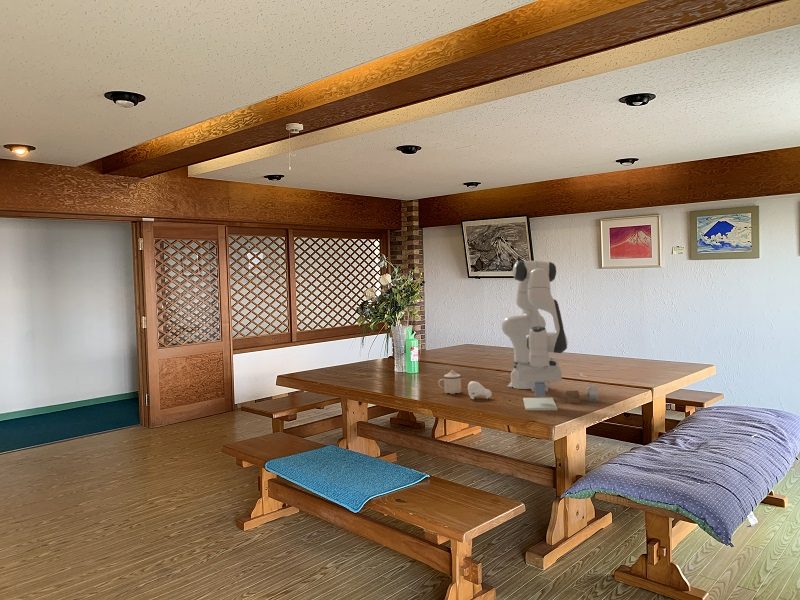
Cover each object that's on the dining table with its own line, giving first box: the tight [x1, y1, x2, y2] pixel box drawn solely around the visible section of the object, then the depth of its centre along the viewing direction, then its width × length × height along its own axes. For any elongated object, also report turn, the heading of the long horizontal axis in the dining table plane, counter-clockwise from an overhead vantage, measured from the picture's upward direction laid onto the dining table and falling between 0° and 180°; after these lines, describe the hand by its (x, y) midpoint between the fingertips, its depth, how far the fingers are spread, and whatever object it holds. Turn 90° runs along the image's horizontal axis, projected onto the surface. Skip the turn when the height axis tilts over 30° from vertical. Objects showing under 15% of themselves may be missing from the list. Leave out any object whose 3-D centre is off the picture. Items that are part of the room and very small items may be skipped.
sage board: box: [522, 397, 558, 411], centre depth 279 cm, size 22×14×1 cm, turn 171°
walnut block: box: [566, 390, 580, 404], centre depth 283 cm, size 5×5×5 cm
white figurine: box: [467, 380, 493, 400], centre depth 298 cm, size 6×8×12 cm
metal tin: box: [586, 385, 599, 403], centre depth 282 cm, size 5×5×7 cm
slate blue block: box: [534, 382, 546, 398], centre depth 279 cm, size 4×4×6 cm
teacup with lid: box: [437, 370, 462, 395], centre depth 315 cm, size 12×9×12 cm
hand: (539, 390), depth 279 cm, fingers closed on slate blue block, 4 cm apart
